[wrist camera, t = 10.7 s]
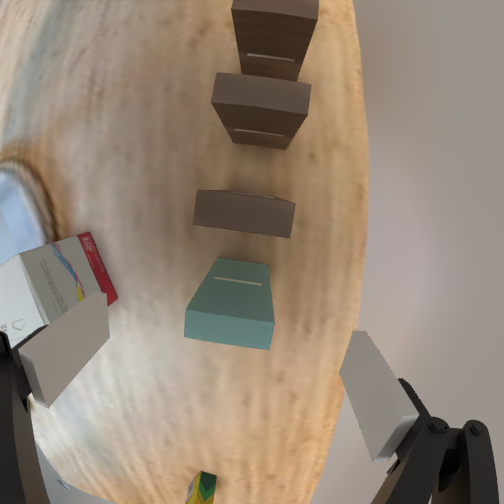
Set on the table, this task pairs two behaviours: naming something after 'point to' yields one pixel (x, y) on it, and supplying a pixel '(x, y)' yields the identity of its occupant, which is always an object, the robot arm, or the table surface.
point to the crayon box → (202, 489)
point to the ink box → (49, 284)
